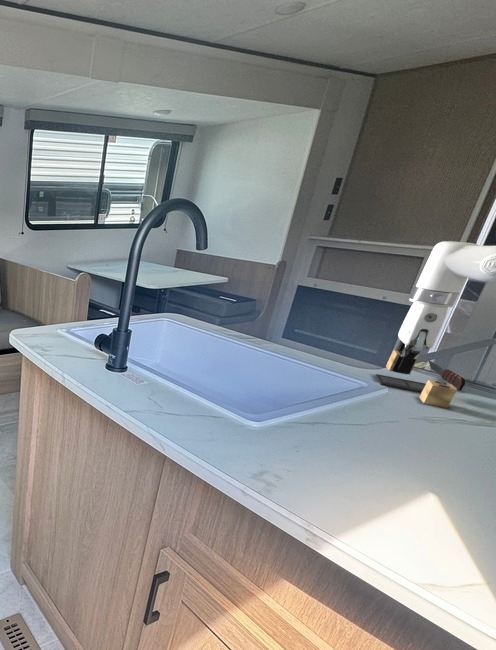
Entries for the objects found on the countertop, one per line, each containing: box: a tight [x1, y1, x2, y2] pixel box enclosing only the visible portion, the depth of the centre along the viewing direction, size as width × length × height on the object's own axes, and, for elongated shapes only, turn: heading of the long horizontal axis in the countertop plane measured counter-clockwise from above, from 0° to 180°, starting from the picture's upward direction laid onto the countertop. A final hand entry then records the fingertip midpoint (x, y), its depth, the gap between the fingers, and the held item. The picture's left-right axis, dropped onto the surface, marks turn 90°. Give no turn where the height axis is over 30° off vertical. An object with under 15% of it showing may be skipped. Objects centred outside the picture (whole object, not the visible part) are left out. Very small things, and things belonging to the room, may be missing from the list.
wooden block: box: [385, 349, 419, 375], centre depth 106 cm, size 4×4×5 cm
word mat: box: [375, 373, 427, 394], centre depth 107 cm, size 11×8×1 cm
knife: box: [428, 359, 466, 392], centre depth 112 cm, size 17×1×3 cm, turn 159°
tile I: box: [418, 379, 458, 409], centre depth 97 cm, size 4×4×5 cm
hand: (398, 369), depth 107 cm, fingers closed on wooden block, 4 cm apart
